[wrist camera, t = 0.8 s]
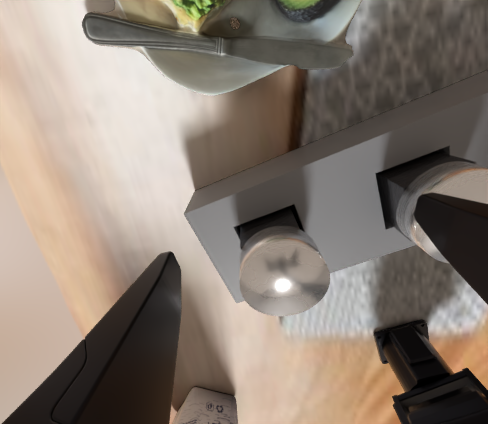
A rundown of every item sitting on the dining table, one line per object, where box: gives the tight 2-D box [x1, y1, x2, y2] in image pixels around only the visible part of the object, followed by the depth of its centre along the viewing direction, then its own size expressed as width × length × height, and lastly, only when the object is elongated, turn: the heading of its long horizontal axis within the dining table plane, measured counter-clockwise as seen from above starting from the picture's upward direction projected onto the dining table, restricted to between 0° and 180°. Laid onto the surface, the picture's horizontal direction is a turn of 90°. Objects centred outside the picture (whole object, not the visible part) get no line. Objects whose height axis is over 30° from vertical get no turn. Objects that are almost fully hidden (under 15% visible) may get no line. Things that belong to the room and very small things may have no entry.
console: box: [184, 70, 488, 303], centre depth 20 cm, size 10×33×5 cm, turn 113°
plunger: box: [240, 206, 330, 316], centre depth 18 cm, size 6×6×7 cm
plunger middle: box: [375, 151, 488, 263], centre depth 16 cm, size 6×6×7 cm
